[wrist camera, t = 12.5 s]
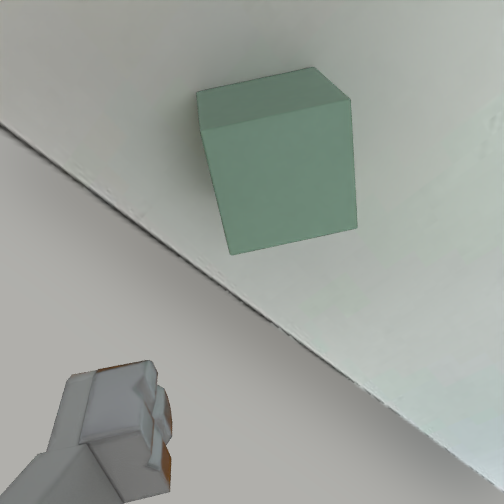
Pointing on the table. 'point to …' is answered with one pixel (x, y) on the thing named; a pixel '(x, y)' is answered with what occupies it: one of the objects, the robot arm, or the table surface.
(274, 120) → the soap block
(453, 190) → the table surface
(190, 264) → the table surface
